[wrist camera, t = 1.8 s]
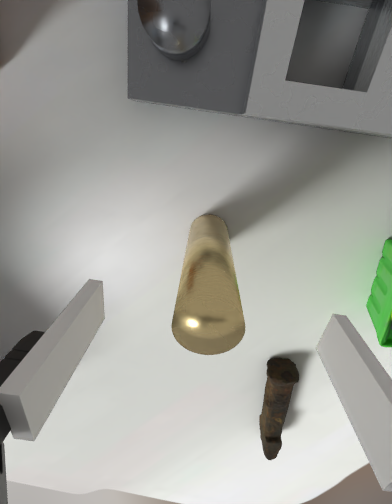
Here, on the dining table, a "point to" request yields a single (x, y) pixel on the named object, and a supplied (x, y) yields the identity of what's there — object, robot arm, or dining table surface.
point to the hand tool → (276, 403)
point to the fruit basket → (382, 298)
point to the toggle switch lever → (208, 292)
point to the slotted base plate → (255, 63)
